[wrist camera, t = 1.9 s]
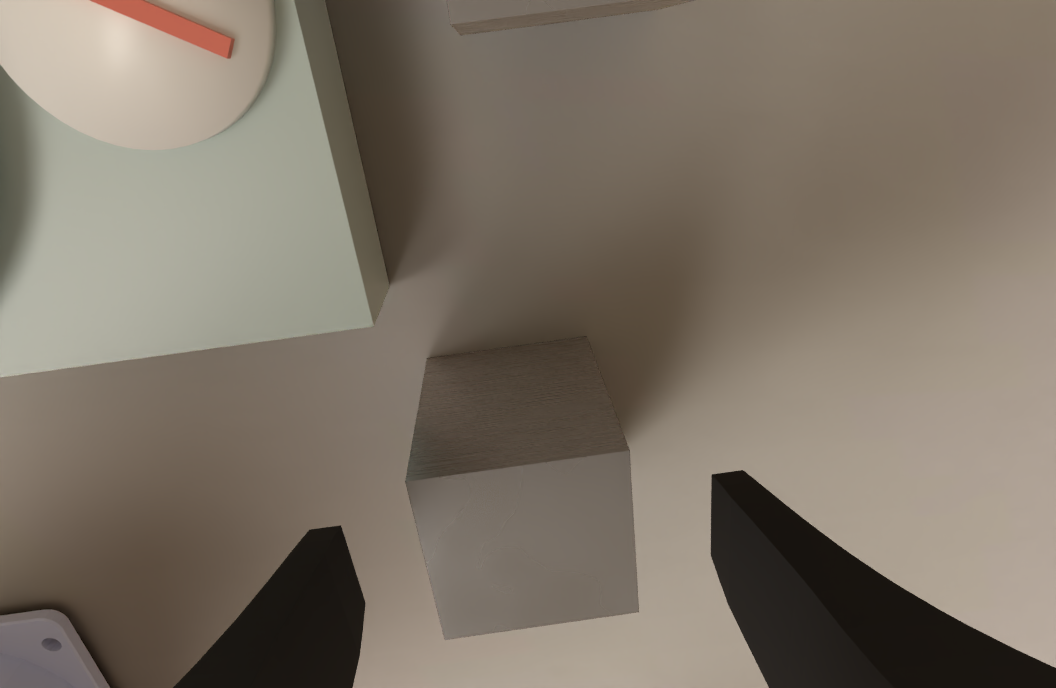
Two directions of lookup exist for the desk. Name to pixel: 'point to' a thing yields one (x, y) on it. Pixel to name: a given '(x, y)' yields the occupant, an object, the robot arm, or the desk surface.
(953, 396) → the desk surface
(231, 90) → the scale
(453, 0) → the block
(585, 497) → the block
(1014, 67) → the desk surface
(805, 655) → the robot arm
